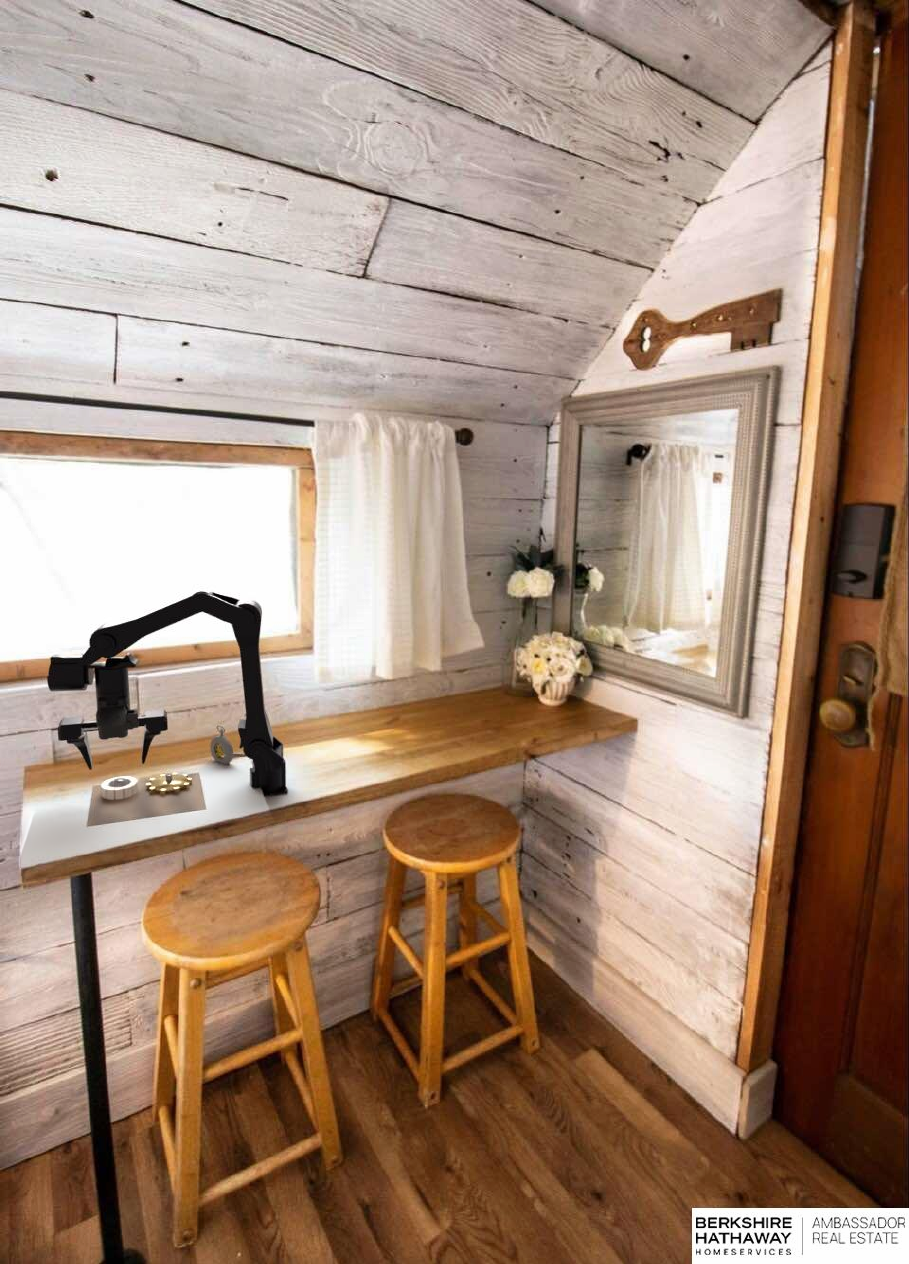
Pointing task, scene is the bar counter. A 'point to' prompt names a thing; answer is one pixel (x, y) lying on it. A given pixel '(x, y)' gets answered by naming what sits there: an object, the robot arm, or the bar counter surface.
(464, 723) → the bar counter surface
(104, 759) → the bar counter surface
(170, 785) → the brass drive gear
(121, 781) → the steel peg
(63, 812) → the bar counter surface
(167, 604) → the robot arm
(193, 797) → the gear board
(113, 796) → the ring gear
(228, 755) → the pocket watch
